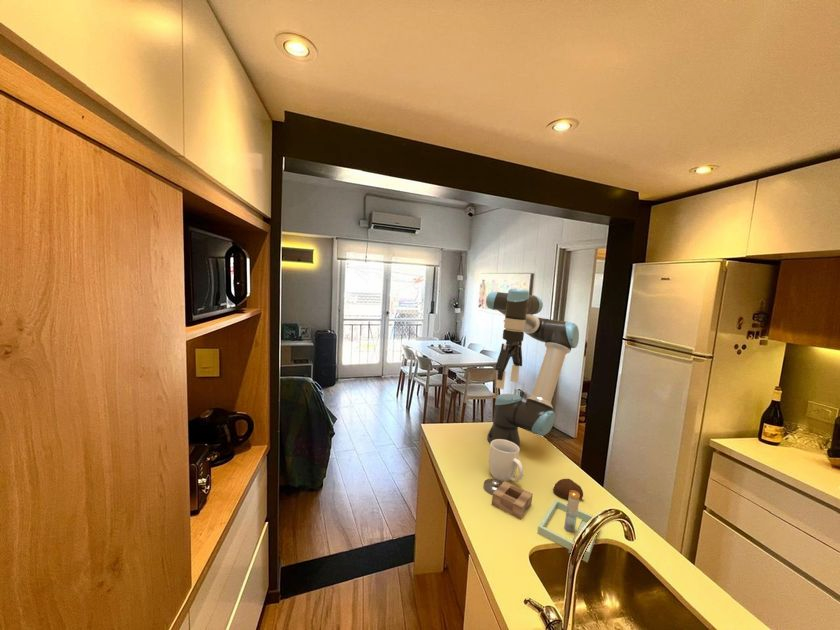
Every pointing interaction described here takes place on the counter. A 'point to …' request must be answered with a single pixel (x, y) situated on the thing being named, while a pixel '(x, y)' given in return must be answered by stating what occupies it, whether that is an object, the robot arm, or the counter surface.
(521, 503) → the block
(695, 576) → the counter surface
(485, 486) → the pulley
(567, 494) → the potato
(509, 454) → the mug
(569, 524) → the pin
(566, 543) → the light teal rectangular frame
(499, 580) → the counter surface
